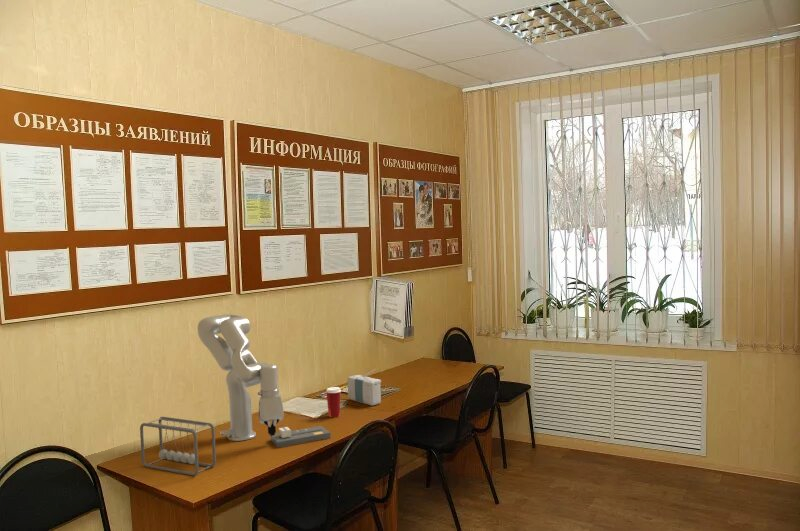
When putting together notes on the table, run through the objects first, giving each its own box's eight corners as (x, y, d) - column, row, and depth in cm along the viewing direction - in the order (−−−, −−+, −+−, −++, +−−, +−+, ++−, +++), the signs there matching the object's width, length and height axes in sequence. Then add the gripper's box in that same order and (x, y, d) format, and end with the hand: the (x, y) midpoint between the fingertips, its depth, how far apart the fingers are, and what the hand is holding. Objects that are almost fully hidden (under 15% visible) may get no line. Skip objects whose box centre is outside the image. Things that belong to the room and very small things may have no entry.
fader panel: (277, 447, 263) (277, 441, 263) (270, 440, 273) (270, 434, 273) (330, 438, 274) (330, 432, 273) (321, 431, 284) (321, 425, 284)
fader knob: (282, 438, 267) (281, 431, 267) (278, 435, 271) (278, 428, 271) (291, 436, 269) (290, 429, 269) (287, 433, 273) (287, 426, 273)
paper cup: (345, 415, 310) (344, 387, 309) (335, 419, 303) (334, 391, 303) (332, 413, 314) (331, 386, 313) (323, 417, 307) (322, 389, 307)
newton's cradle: (141, 466, 246) (139, 422, 245) (161, 457, 255) (159, 415, 255) (197, 477, 233) (195, 430, 232) (216, 467, 242) (214, 423, 241)
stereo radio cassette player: (347, 400, 339) (346, 364, 338) (359, 397, 344) (358, 362, 343) (371, 407, 323) (369, 369, 322) (383, 404, 328) (381, 367, 328)
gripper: (254, 397, 260) (257, 440, 260) (289, 392, 267) (291, 434, 267) (250, 394, 267) (252, 435, 267) (284, 389, 273) (286, 429, 274)
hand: (272, 434), depth 267 cm, fingers closed
